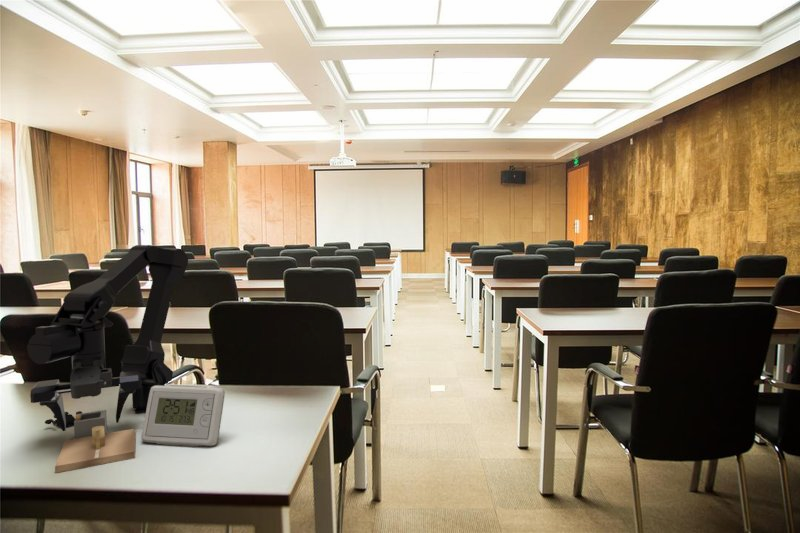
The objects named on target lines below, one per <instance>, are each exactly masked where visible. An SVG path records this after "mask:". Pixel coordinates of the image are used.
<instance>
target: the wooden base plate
mask: <svg viewBox="0 0 800 533" xmlns="http://www.w3.org/2000/svg"><path fill="white" fill-rule="evenodd" d="M136 434H137V431H136V428H131V429H125V430H118V431H113V432H106V434H105V430H104V426H96V427H93V428H92V436H88V437H82V438H76V439H75V438H72V439H65V440H64V442H63V445H62V447H61V450H60V452H59V455H58V458H57V461H56V463H55V465H54V473H55V474H58V473H63V472H68V471H74V470H80V469H84V468H88V467H95V466H100V465H103V464H110V463H114V462H120V461H124V460H130V459H131V460H132V459H134V458H135V459H136Z"/></svg>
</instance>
